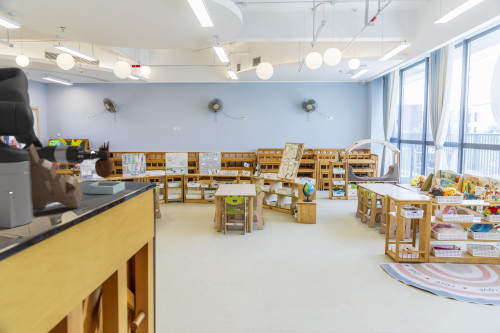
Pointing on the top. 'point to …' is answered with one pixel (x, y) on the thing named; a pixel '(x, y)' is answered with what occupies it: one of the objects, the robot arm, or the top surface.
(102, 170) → the wooden figurine
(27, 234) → the top surface
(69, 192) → the wooden toy
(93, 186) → the pale teal tray
